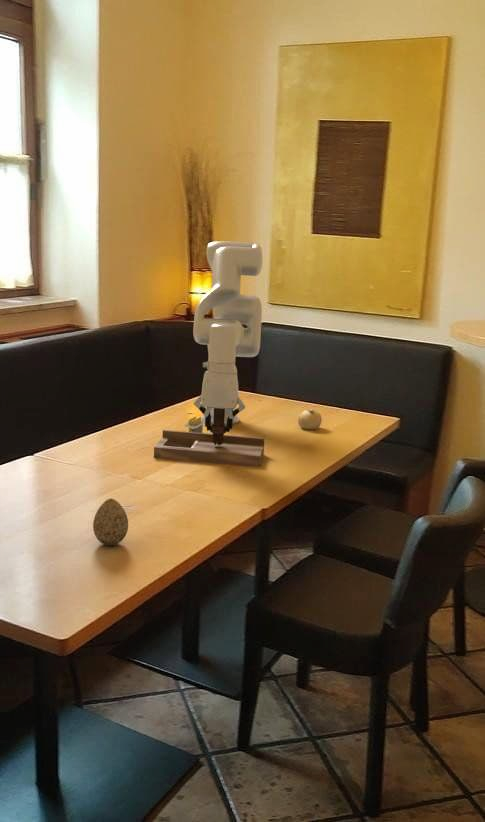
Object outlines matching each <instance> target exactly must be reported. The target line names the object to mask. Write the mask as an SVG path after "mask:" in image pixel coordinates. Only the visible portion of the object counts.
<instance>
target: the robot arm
mask: <svg viewBox="0 0 485 822" xmlns="http://www.w3.org/2000/svg"><path fill="white" fill-rule="evenodd" d="M206 259H207V262H208V266H209V268H210V271H211V273H212V276H211V277H212V279H211V289H210V290H209V291H207V293H205V294H204V295H203V296H202V297H201V299H200V300H199V302H198V303H197V304H196V307H195V310H194V317H193V318H194V319H193V331H192V333H193V335H192V336H193V339H194V341H195V342H196V343H197V344H199V345H207V352H208V358H207V359H208V360H207V361H204V362H202V367H203V368H206V371H204V374H203V379H202V385H201V386H202V387H201V394H200V396H199V397H198V398H197V399H196V400H195V401H194V402H193V405H194V406H195V407H196V408H197V409H199V411H200V412H201V413H202V416H201V420H205V423H204V428H206V431H208V432H209V431H210V426H211V425H212V424H213V419H214V408H217V409H225V417H224V425H226V426H227V429H226V433H230V431H231V430H232V429H233V425H234V424H237V423H238V422H239V421H240V416H239V415H238V414H239V413H241V412H242V411H243V410H245V409H246V404H245V403H244V402H243V400H242V399H241V398H240V396H239V380H238V369H237V366H236V357H238V358H239V357H240V358H254V357H256V356H258V355H259V352H260V349H261V335H262V334H261V333H262V319H263V318H262V317H263V314H262V313H263V312H262V311H263V308H262V301H261V299H260V297H258V296H256V295H253V294H241V282H242V281H241V279H242V276H253V277H256V276H257V277H258V275H260V273H261V270H262V268H263V250H262V247H261V245H260V244H259V243H257V242H244V241H243V242H242V241H233V240H232V241H231V240H230V241H228V240H223V241H222V240H219V241H218V240H217V241H212V242H209V243H208V244H207V246H206ZM211 310H212V314H213V318H210V317H209V318H205V315H206V314H207V313H208V312H209V311H211ZM243 325H245V326H247V327H244V326H243ZM237 406H238V407H237ZM236 407H237V408H236Z"/></svg>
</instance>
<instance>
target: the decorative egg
mask: <svg viewBox="0 0 485 822" xmlns="http://www.w3.org/2000/svg"><path fill="white" fill-rule="evenodd" d="M128 519H129V518H128V515H127V512H126V510H125V508H124V507H123V506H122V504H120V502H119V501H117V500H116V499H114V498H108V499H106V500H105V501H104V502H103V503H102V504H101V505H100V506H99V508H98V509H97V511H96V513H95V515H94V518H93V522H92V523H93V524H92V526H93V527H92V528H93V529H92V530H93V533H94V536H95V537H96V539H97V540H98V541H99V542H100V543H101V544H102V545H105V546H108V547H109V546H110V547H112V546H116V545H118V544H119V543H120V542H122V541H124V538H125V537H126V536H127V533H128V529H129V520H128Z"/></svg>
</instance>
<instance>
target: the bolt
mask: <svg viewBox="0 0 485 822" xmlns="http://www.w3.org/2000/svg"><path fill="white" fill-rule="evenodd" d="M224 417H225V409H217V408H214V419H213V424H212V423H211V426H210V430H209V431H210V433H211V434H213V438H212V439H213V443H214V444H215V445H216V443H217V444H218V445H221V444H223V441H224V435H225V434H226V433H227V432H226V429H227V424H224Z"/></svg>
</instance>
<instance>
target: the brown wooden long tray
mask: <svg viewBox="0 0 485 822" xmlns="http://www.w3.org/2000/svg"><path fill="white" fill-rule="evenodd" d="M212 438H213V433H208V432H206V433H205V432H202V433H196V432H189V431H182V430H181V431H180V430H173V429H172V430H170V429H163V430H162V437H161V438H160V439H159V441H158V442H157V443H156V444H155V446H154V447H153V458H155V459H166V460H177V461H178V460H179V461H189V462H199V461H200V462H202V463H203V462H204V463H211V462H212V464H224V465H235V466H248V467H257V468H258V467H259V468H260V467H261V463H262V460H263V458H264V454H265V453H264V452H265V451H264V450H265V438H264V437H256V436H253V437H252V436H244V435H243V436H241V435H233V434H232V435H231V434H224V441H223V444H221V445H218V444H217V443H216V445H215V444H214V443H213V439H212ZM200 462H199V463H200Z"/></svg>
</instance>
